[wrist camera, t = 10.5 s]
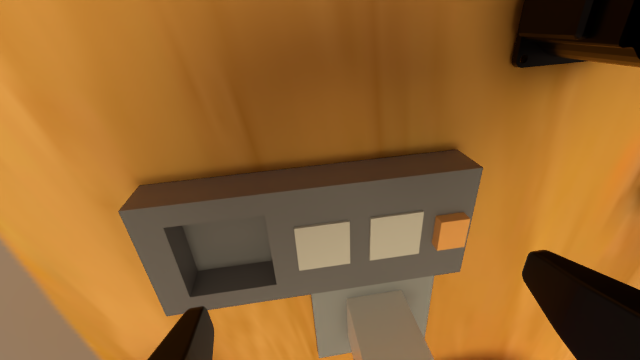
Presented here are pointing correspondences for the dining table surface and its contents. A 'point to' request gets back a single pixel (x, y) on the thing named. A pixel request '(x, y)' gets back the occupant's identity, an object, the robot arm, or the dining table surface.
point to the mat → (334, 303)
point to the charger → (384, 329)
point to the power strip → (302, 229)
